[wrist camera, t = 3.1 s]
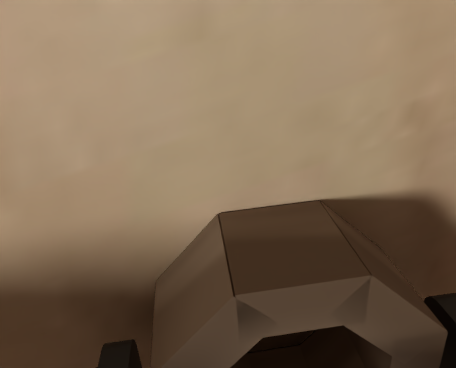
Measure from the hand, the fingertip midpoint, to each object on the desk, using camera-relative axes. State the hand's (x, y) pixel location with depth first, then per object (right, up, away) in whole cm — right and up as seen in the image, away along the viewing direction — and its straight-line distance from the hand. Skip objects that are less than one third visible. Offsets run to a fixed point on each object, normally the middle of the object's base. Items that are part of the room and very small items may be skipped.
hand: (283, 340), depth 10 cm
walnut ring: (0, +1, +1) cm, 1 cm away
